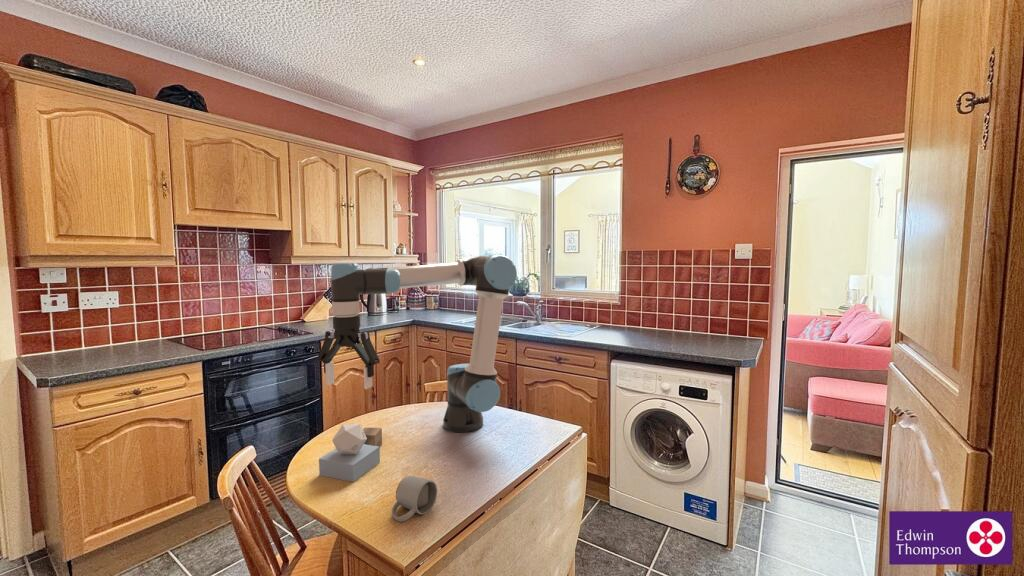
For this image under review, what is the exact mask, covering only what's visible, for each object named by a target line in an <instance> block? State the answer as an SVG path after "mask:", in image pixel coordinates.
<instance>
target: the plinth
mask: <svg viewBox="0 0 1024 576" xmlns="http://www.w3.org/2000/svg"><path fill="white" fill-rule="evenodd" d="M380 449H381V447H378V446H372V445H366V444H364V445H363V446H362V448H361V449H360V451H359V453H358V454H357V455H339V453H338V451H337V449H336V448H335V449H333V450H331V451H329V452H327V453H326V454H324V455H322V456H321V457H319V458H318V467H319V468H318V469H319V470H318V471H319V473H318V474H319V476H322V477H327V478H331V479H336V480H341V481H347V482H351V483H354V482H356V481H357V480H359V479H360V478H361V477H363V476H364V475H365V474H367V473H368V472H369V471H370V470H372V469H373V468H374V467H376V466H378V465H379V464H380V462H381V457H380V456H381V455H380V454H381V453H380V452H381V451H380Z"/></svg>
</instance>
